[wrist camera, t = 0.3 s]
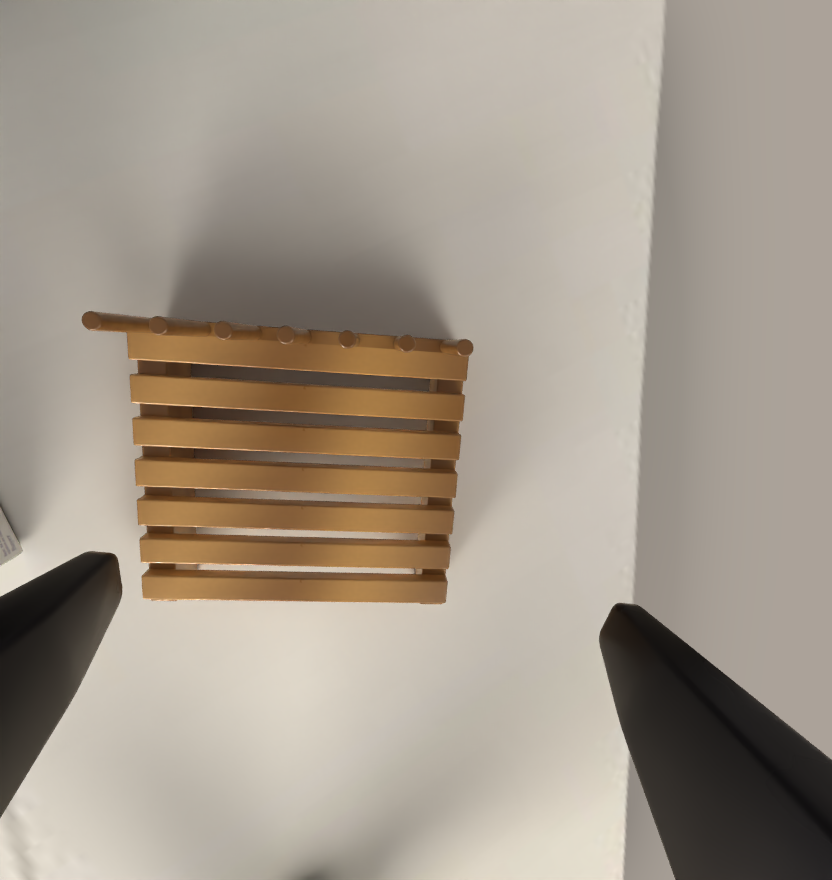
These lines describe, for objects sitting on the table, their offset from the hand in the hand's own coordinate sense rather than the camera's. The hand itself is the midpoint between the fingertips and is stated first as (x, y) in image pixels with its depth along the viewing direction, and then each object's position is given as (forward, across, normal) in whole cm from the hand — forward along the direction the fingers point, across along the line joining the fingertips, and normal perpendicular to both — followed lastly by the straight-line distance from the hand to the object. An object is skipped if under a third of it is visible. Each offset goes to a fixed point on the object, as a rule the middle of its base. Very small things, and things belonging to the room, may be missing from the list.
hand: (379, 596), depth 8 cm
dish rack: (+14, +3, +6) cm, 16 cm away
